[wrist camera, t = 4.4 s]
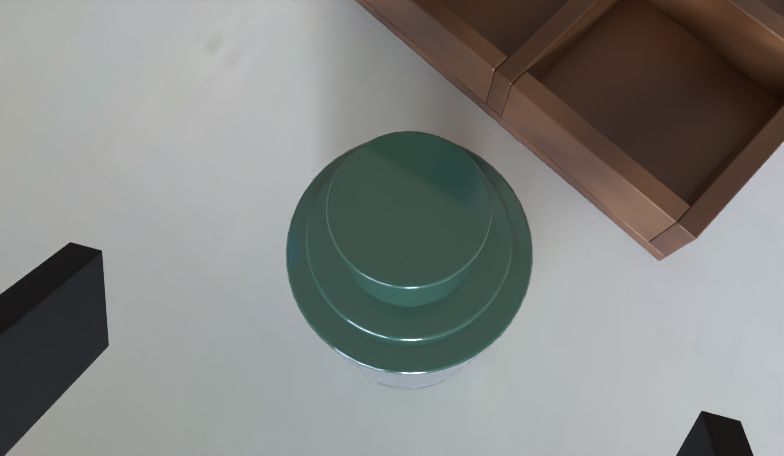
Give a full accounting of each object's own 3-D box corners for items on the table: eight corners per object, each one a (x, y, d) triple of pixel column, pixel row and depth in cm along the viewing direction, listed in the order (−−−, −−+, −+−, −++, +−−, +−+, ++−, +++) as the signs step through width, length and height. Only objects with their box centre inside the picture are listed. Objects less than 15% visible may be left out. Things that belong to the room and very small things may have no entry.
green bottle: (299, 309, 23) (191, 208, 12) (407, 205, 24) (407, 16, 13) (409, 423, 22) (410, 437, 10) (518, 308, 23) (629, 203, 11)
